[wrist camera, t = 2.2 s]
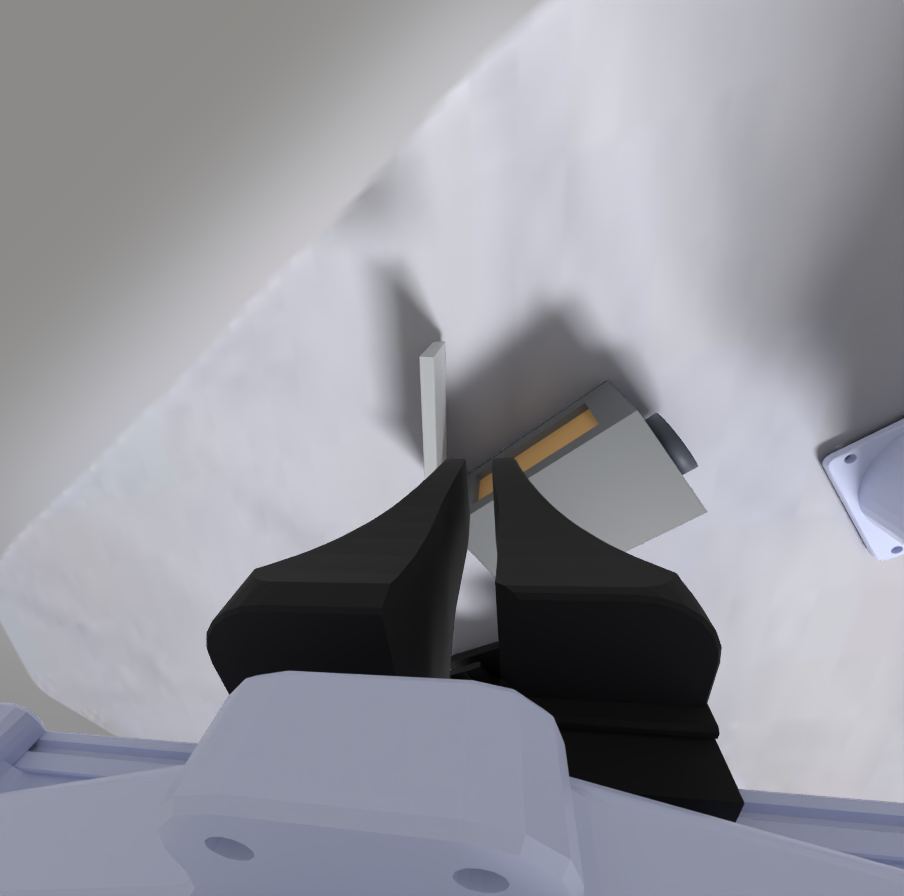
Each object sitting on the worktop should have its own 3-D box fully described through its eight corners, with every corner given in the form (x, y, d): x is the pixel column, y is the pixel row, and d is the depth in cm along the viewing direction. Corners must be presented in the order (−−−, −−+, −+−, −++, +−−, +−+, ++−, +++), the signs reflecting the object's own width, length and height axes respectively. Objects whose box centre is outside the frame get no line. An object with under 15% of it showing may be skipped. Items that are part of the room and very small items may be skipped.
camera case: (622, 370, 19) (661, 402, 14) (680, 456, 20) (732, 509, 16) (456, 481, 22) (446, 535, 18) (516, 546, 24) (520, 610, 20)
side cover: (431, 340, 19) (414, 358, 15) (448, 340, 19) (436, 358, 15) (435, 487, 23) (422, 530, 19) (450, 488, 22) (440, 532, 19)
